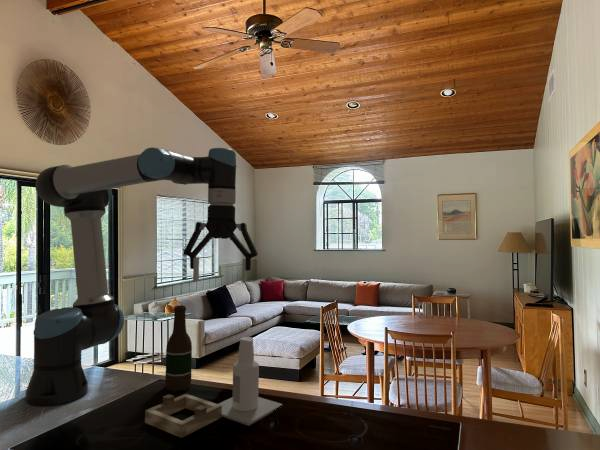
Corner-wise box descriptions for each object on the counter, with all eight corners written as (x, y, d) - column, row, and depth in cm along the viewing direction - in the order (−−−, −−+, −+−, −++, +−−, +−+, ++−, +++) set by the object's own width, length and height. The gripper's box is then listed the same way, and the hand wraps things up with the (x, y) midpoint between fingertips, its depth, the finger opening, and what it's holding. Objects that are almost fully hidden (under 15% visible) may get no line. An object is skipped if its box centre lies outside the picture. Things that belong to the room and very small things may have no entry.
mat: (207, 411, 114) (207, 408, 114) (242, 394, 126) (242, 392, 126) (248, 425, 106) (248, 423, 106) (282, 406, 118) (282, 404, 118)
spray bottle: (244, 399, 121) (246, 333, 120) (263, 405, 117) (264, 338, 116) (226, 407, 115) (228, 338, 115) (245, 414, 111) (247, 343, 111)
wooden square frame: (144, 422, 107) (144, 404, 107) (185, 404, 118) (185, 387, 118) (182, 438, 99) (182, 418, 99) (222, 417, 110) (222, 399, 110)
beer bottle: (184, 393, 126) (186, 309, 125) (159, 390, 127) (161, 307, 127) (196, 383, 133) (197, 304, 133) (172, 381, 135) (174, 303, 135)
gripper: (172, 203, 118) (171, 282, 118) (264, 205, 117) (262, 284, 117) (181, 204, 126) (180, 278, 126) (268, 206, 124) (266, 281, 124)
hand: (220, 281), depth 121 cm, fingers open, 13 cm apart
